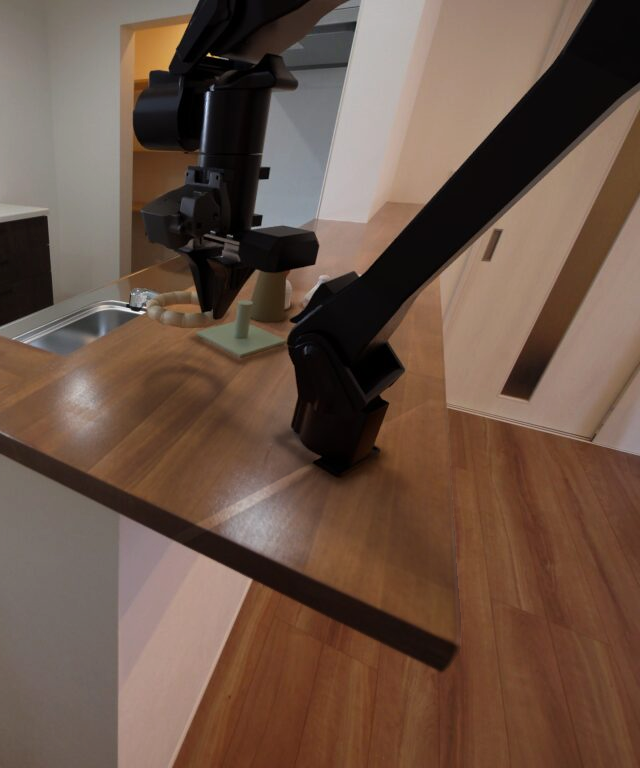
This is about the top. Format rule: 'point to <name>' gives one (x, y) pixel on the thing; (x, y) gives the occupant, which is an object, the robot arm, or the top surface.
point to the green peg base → (241, 334)
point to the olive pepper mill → (269, 297)
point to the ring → (178, 318)
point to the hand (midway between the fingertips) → (211, 316)
